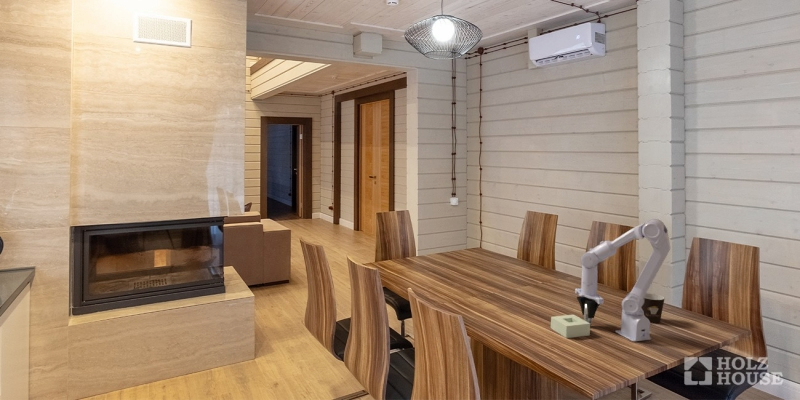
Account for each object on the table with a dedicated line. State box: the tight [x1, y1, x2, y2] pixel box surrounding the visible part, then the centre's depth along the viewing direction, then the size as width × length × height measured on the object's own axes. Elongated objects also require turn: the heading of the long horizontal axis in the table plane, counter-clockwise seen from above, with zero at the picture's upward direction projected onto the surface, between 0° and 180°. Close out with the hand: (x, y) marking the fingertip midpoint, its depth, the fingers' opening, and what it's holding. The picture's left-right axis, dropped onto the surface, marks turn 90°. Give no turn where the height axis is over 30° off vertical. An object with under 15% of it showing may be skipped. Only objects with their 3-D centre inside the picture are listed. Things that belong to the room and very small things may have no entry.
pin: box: [583, 303, 593, 326], centre depth 180 cm, size 3×3×8 cm
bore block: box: [550, 314, 591, 339], centre depth 175 cm, size 10×10×4 cm
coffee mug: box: [641, 292, 666, 324], centre depth 187 cm, size 12×9×10 cm
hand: (588, 316), depth 180 cm, fingers closed on pin, 3 cm apart
